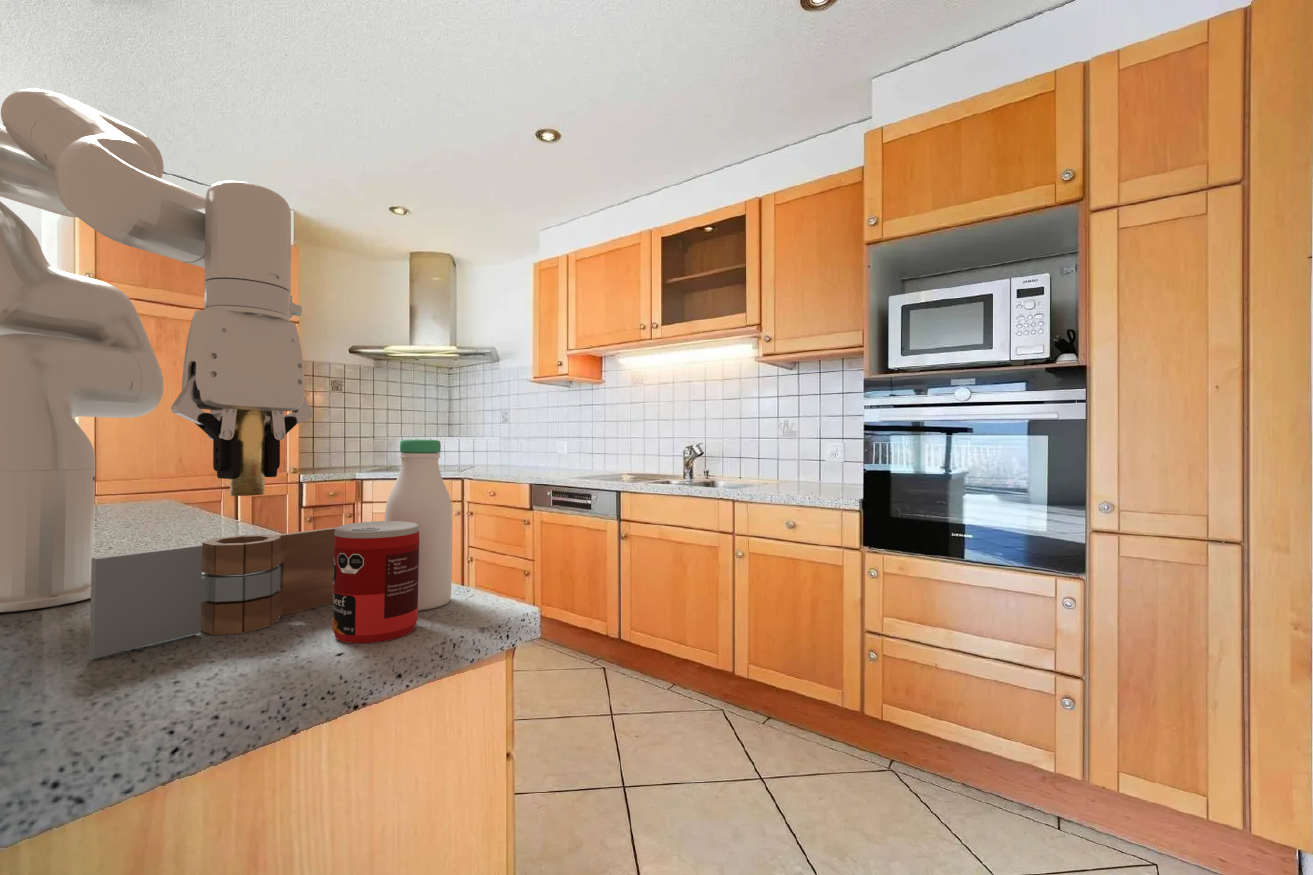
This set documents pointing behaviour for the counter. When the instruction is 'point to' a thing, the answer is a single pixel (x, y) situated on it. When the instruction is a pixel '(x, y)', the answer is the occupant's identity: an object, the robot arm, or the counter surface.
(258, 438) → the hinge pin
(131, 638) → the hinge leaf swing
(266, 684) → the counter surface
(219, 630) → the hinge leaf fixed
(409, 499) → the milk bottle
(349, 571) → the canned food
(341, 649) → the counter surface
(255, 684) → the counter surface
